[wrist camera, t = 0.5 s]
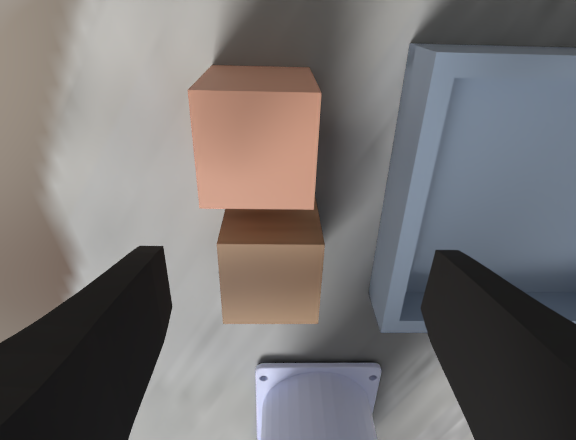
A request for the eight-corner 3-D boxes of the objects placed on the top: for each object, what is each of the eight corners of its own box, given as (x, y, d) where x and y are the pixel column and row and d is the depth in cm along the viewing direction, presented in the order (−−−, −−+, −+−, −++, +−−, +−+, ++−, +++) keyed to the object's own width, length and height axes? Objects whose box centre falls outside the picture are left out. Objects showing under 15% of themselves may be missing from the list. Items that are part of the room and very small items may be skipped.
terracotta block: (304, 158, 18) (313, 209, 14) (218, 157, 18) (199, 208, 13) (309, 67, 16) (321, 92, 12) (212, 65, 16) (188, 89, 11)
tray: (590, 293, 22) (631, 332, 20) (368, 293, 22) (380, 332, 19) (720, 51, 16) (806, 61, 13) (409, 43, 16) (436, 52, 13)
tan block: (309, 255, 21) (317, 323, 16) (234, 255, 21) (223, 323, 16) (313, 188, 19) (324, 244, 14) (230, 186, 19) (216, 244, 14)
